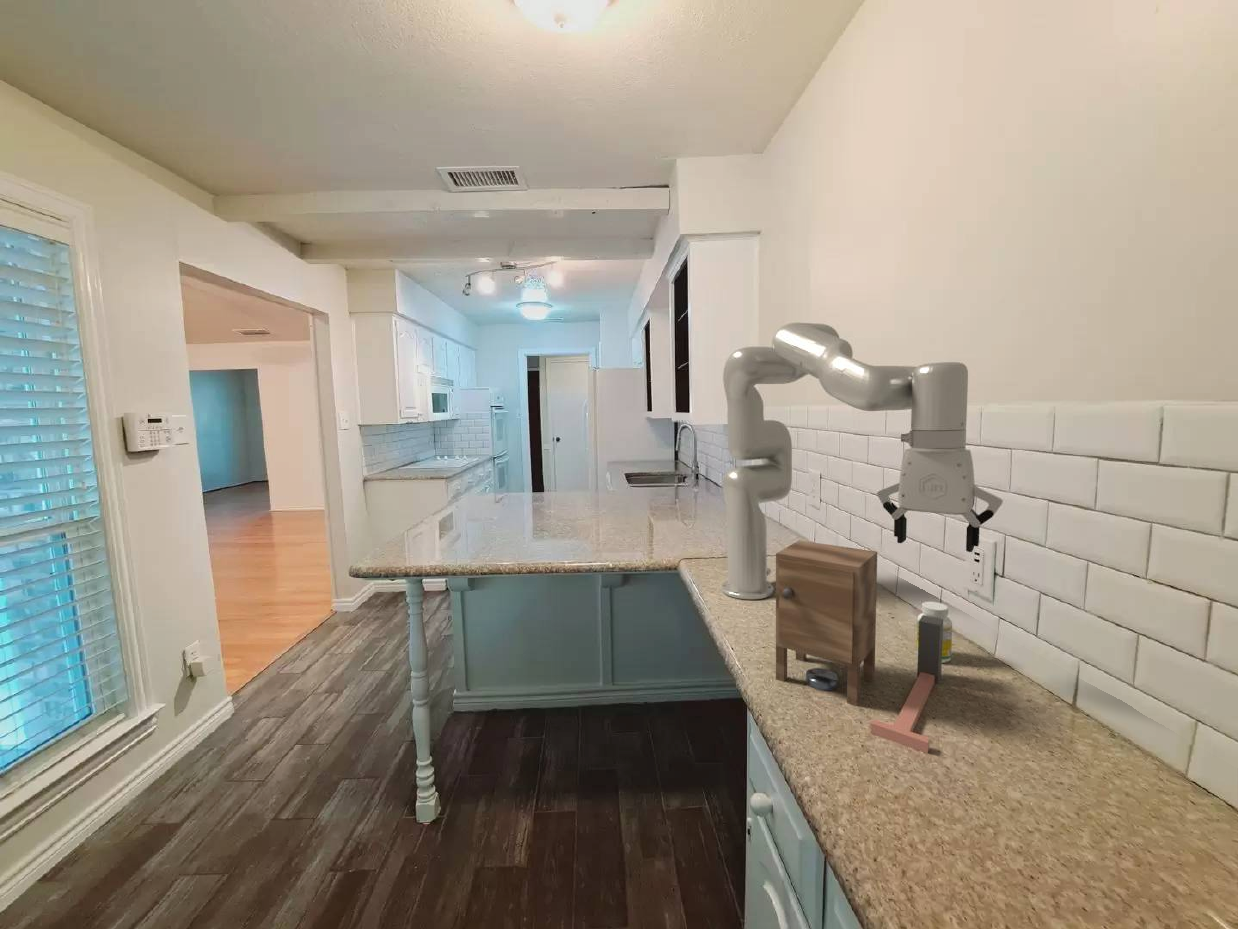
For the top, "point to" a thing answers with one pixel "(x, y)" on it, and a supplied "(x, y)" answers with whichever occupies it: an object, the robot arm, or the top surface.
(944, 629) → the supplement bottle
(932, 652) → the rake
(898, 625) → the top surface
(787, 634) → the walnut cabinet
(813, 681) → the steel token
